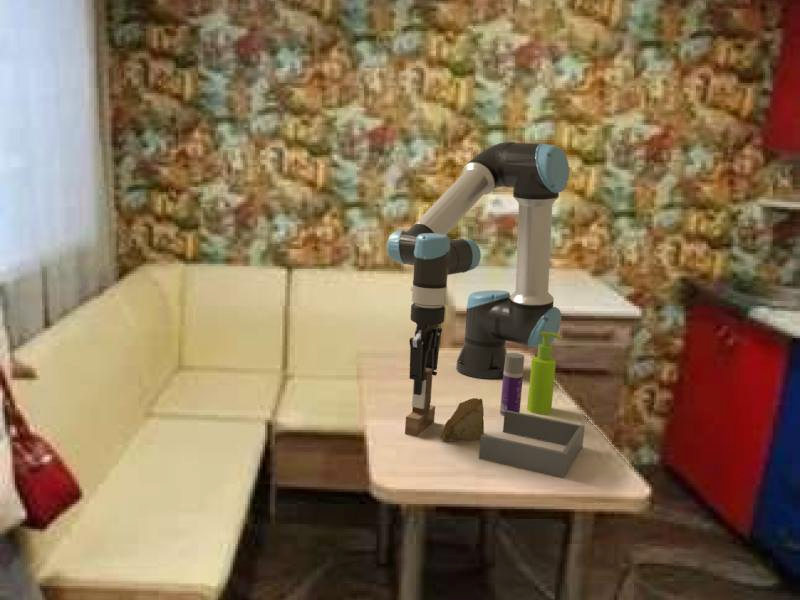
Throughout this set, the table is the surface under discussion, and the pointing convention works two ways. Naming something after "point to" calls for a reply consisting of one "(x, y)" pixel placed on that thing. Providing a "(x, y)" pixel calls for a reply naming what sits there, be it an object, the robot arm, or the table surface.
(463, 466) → the table surface
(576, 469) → the table surface
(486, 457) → the box
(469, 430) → the rock
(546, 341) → the soap dispenser
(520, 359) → the container
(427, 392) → the brown t-shaped block
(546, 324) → the robot arm
